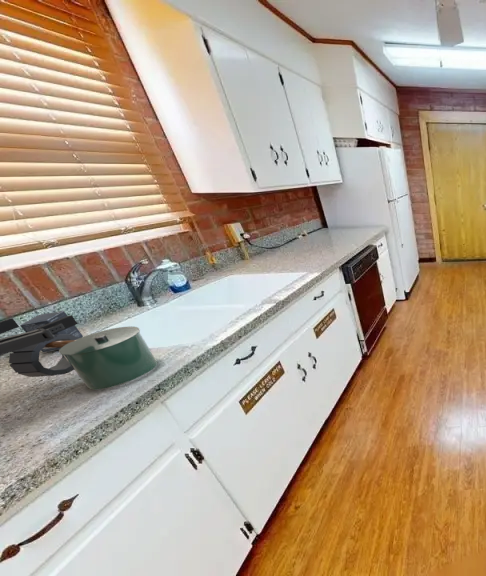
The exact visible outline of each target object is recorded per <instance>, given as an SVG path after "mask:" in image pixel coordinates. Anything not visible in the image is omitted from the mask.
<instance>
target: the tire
mask: <svg viewBox="0 0 486 576" xmlns="http://www.w3.org/2000/svg"><path fill="white" fill-rule="evenodd" d="M53 336H54V337H55V338H54V339H51V340H49V341H44V342H41V343H38V344H35V345H31V346H28V347H25V348H22V349H19V350H16V351H12V352H9V356H8V357H9V358H8V364H9V366H10V368H11V369H12V370H13V371H14V373H16V374H17V375H22V376H24V377H29V378H38V377H54V376H60V375H66V374H69V373H71V372H73V371H75V370H74V369H73V367H72V366H71V365H70V363H69V362H68V361H67V359H66V358H65V357H64V355H61V358H60V359H59V360H58V361H57V362H56V364H55V365H53V366H51V367H49V368H48V367H45V366H44V365H43V364H42V363H41V362H40V353H41V352H42V351H41V350H42V349H43V348H44V347H45V345H46V344H48V343H51V342H53V341H69V340H77V339H79V337H76V336H74V335H70V334H60V335H53Z"/></svg>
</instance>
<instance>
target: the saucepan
mask: <svg viewBox="0 0 486 576" xmlns="http://www.w3.org/2000/svg"><path fill="white" fill-rule="evenodd" d="M45 348H61V349H58V353H59V354H60V355H61V356H62V355H64V357H65V358H66V359H67V361H68V362H69V363H70V365H71V366H72V367H73V369H74V370H73V371H75V373H76V374H77V375H78V377H79V378H80V379H81V381H82V382H83V383H84V384H85V386H86V387H87V388H88V389H90V390H94V391H96V390H103V389H104V390H105V389H108V388H113V387H116V386H120V385H122V384H126V383H128V382H131V381H133V380H135V379H137V378H140V377H142V376H144V375H145V374H147V373H149V372H150V371H152V370H153V369H155V368H156V366H157V365H158V360H157V359H156V357H155V355H154V354H153V352H152V351H151V349H150V347H149V345H148V344H147V342H146V340H145V339H144V337H143V335H142V334H141V329H140V328H139V327H137V326H120V327H114V328H109V329H105V330H101V331H97V332H93V333H91V334H87V335H83V337H82V338H79V339H77V340H69V341H53V342H51V343H48V344H46V345H45V347H44V348H43V349H45Z"/></svg>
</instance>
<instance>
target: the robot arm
mask: <svg viewBox="0 0 486 576" xmlns="http://www.w3.org/2000/svg"><path fill="white" fill-rule="evenodd" d="M74 325H75V326H77V325H78V322H77V321H76V319H75V318H74V316H73V315H69V314H68V315H67V316H66V317H64V318H61V319H59V320H56V321H53V322H51V323H48V324H46V325H43V326H41V327H38V328H37V330H33V331H29V332H25V331H24V332H21V333H17V334H14V335H10V336H6V337H2V338H0V356H3V355H6V354H10V353H13V352H12V351H16V350H19V349H22V348H25V347H28V346H31V345H35V344H38V343H41V342H44V341H49V340H51V339H54V338H55V337H54V336H53V334H55V333H57V332H60V331H62V330H65V329H67V328H69V327H72V326H74ZM17 328H20V325H19V324H18V323H17V322H16V321H15V319H14V318H13V317H9V318H6V319H3V320H1V321H0V335H1V334H4V333H7V332H10V331H12V330H15V329H17Z"/></svg>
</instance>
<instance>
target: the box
mask: <svg viewBox="0 0 486 576" xmlns="http://www.w3.org/2000/svg"><path fill="white" fill-rule="evenodd" d="M66 316H68V315H67V313H66V312H65V310H59V311H53V312H48V313H43V314H38V315H35V316H34V317H32V318H31V319H29V320H27V321H25V322H23V323H22V324H21V323H20V325H19V327H20V328H22V330H23V331H24V333H25V332H29V331H33V330H37V328H38V327H41V326H43V325H46V324H48V323H51V322H53V321H56V320H59V319H61V318H64V317H66ZM60 334H70V335H74V336H76V337H79V338H82V337H84V335H83V334H82V333H81V331H80V330H79V329H78V328H77V325H74V326H72V327H69V328H67V329H65V330H62V331H60V332H57V333H55V334H53V335H60ZM60 349H61V348H45V349H42V350H41V351H40V352H42V353H49V352H52V351H59V350H60Z"/></svg>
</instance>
